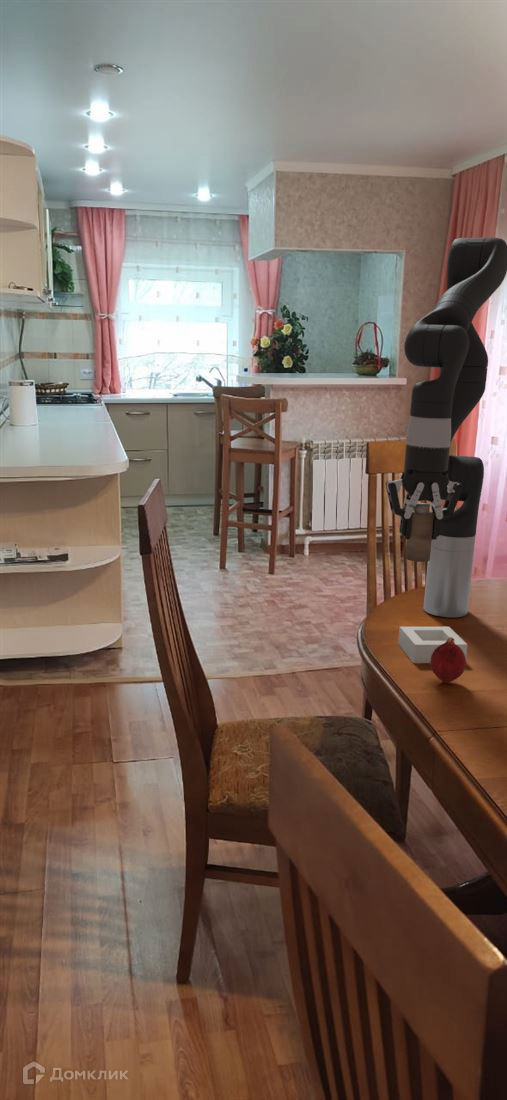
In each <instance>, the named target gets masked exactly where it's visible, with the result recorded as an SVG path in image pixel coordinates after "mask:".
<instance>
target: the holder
mask: <svg viewBox="0 0 507 1100" xmlns="http://www.w3.org/2000/svg"><path fill="white" fill-rule="evenodd" d="M398 630H399V631H398V641H397V645H398V646H399V647H400V649H402V651H403V652H404V653H405V655H406V656H407V657H408V658H409V659H410V661H411V662H412V664H431V656H432V653H433V652H434V650H435V649H436V648H437V647H438V646H440V645H442V644H444V643H446V641H447V640H448V638H450V637H452V638H453V639H454V643H455V644H456V645H457V646H459V647H460V648H461V650H462V651H463V653H464V655H465V658H466V659H467V651H468V643H466V641H464V640H463V638H462V637H461V636H459V635H458V634H457V633H456V632H455V631H454V630H453V629H452V628H451V627H450V626H399V628H398Z"/></svg>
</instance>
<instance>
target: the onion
mask: <svg viewBox="0 0 507 1100" xmlns="http://www.w3.org/2000/svg"><path fill="white" fill-rule="evenodd" d="M466 667H467V657H466V658H465V655H464V653H463V651H462V650H461V648H460V647H459V646H457V645H456V644H455V643H454V639H453V638H452V637H450V638H448V640H447V641H446V643H444V644H442V645H440V646H438V647H437V648H436V649H435V650H434V652H433V653H432V656H431V663H430V669H431V671H432V673H433V674H434V675H435V676H436V678H438V680H439V681H441V682H442V683H444V684H450V683H451V682H454V681H455V680H457V679H459V677H461V676H462V675H463V673H464V672H465V671H466Z"/></svg>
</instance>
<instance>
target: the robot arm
mask: <svg viewBox="0 0 507 1100" xmlns="http://www.w3.org/2000/svg"><path fill="white" fill-rule="evenodd" d="M446 263H447V265H446V284H445V285H446V287H445V289H446V290H445V292H444V293H443V294H442V295H441V296H440V298H439V299H438V301H437V303H436V304H435V306H434V308H433V309H432V311H430V312H428V313H427V314H426V315H425V316H424V317H422V318H420V319H419V320H418V321H417V322H416V323H414V325H412V327H411V328H410V329H409V331H408V333H407V335H406V337H405V341H404V354H405V357H406V360H407V361H408V362H409V363H411V365H413V366H415V367H419V368H421V367H423V368H424V367H425V368H439V373H438V374H439V375H438V377H437V378H435V379H431V380H424V381H419V382H416V383H415V384H414V385H413V387H412V389H411V390H412V391H411V401H410V410H409V411H410V413H409V418H408V420H409V421H408V426H407V430H406V435H405V455H404V464H403V466H404V467H403V473H402V475H401V476H400V478H399V479H395V480H386V481H385V487H386V488H385V489H386V492H387V498H388V502H389V507H390V512H391V513H393V514H395V515H396V516H399V517H400V521H399V535H401V536H402V538H403V539H404V540H407V539H409V538H410V528H411V519H410V517H411V514H412V512H413V510H414V509H415V506H416V504H417V503H419V502H423V501H428V504H430V510H431V511H430V512H433V513H434V522H433V532H432V543H431V554H430V561H427V567H426V577H425V578H426V579H425V589H424V599H423V611H424V612H425V613H427V614H430V615H433V616H436V617H442V618H461V617H465V616H467V615H468V610H469V602H470V593H471V584H472V575H473V573H472V572H473V565H474V557H475V545H476V544H475V543H476V536H477V525H478V519H479V518H478V517H479V508H480V502H481V495H482V489H483V484H484V476H485V465H484V462H483V460H482V458H480V457H477V456H470V455H469V456H468V455H466V456H465V455H450V450H451V448H450V447H451V443H452V441H453V438H454V437H455V435H456V433H457V431H458V430H459V428H460V427H461V426H462V424H463V422H465V420H466V419H467V417H468V416H469V415H470V414H471V413H472V411H473V410H474V408H475V407H476V406H477V405H478V403H479V402H480V400H481V399H482V398H483V395H484V393H485V390H486V386H487V378H488V377H487V376H488V366H489V356H488V352H487V350H486V347H485V345H484V343H483V341H482V339H481V337H480V335H479V333H478V331H477V330H476V328H475V326H474V324H473V320H474V318H475V316H476V314H477V312H478V311H479V310H480V308H481V307H482V306H483V305H484V303H486V302H487V301H488V300H489V298H491V296H492V295H494V293H495V292H496V291H497V289H499V287H500V286H501V285H502V283H503V282H504V280H505V278H506V275H507V242H506V241H505V239H502V238H501V237H500V238H498V237H494V236H492V237H489V236H487V237H459V238H455V239H454V240H453V241H452V242H451V244H450V247H449V250H448V255H447V261H446ZM401 487H403V488H404V490H405V492H406V494H405V497H404V499H403V504H402V508H401V503H400V498H399V492H400V491H401ZM442 501H445V502H444V503H442ZM458 502H462V504H461V505H460V506H459V507H458V508H457V507H456V506H457V505H458ZM442 506H443V507H442Z"/></svg>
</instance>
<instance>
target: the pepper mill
mask: <svg viewBox="0 0 507 1100" xmlns="http://www.w3.org/2000/svg"><path fill="white" fill-rule="evenodd" d="M430 510H431V506H430V504H429V503H425V502H417V504H416V506H415V507H414V509H413V512H412V514H411V517H410V519H411V528H410V538H409V539H406V545H405V555H404V558H405V559H406V560H407V561H411V562H416V563H426V562H427V563H428V561H430V554H431V543H432V532H433V522H434V513H433V512H432V511H430Z"/></svg>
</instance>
